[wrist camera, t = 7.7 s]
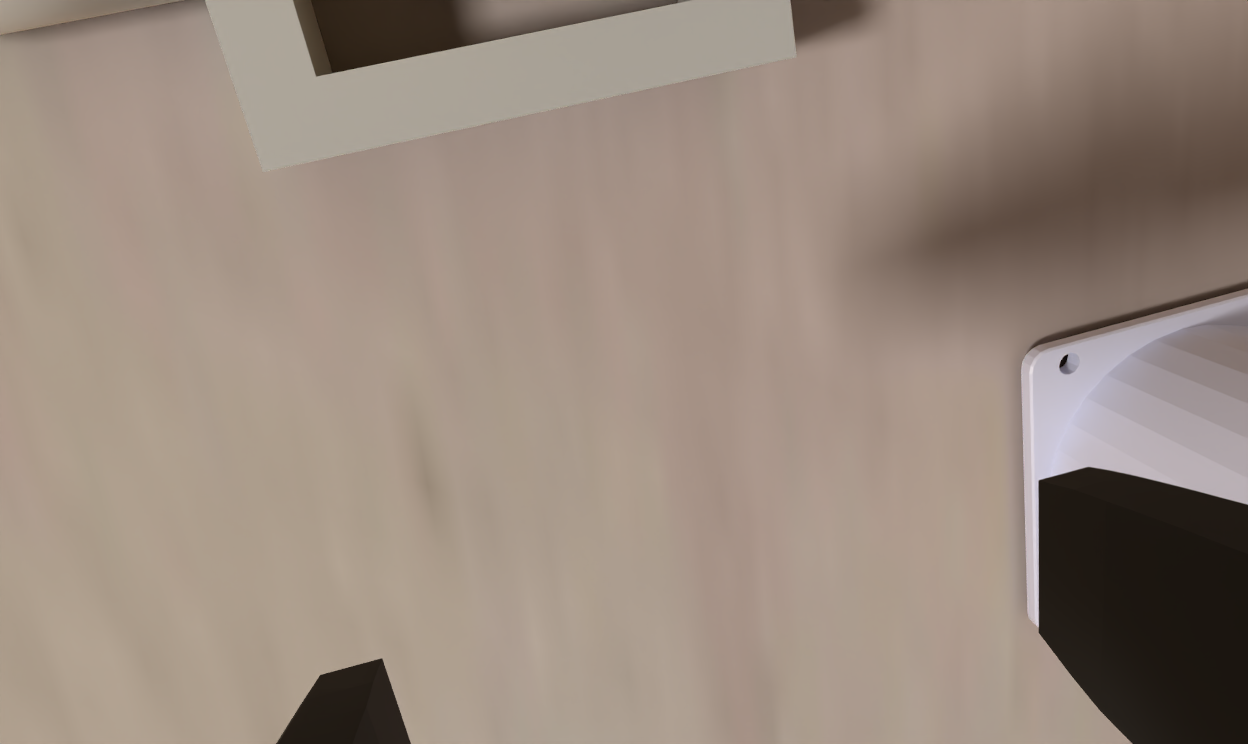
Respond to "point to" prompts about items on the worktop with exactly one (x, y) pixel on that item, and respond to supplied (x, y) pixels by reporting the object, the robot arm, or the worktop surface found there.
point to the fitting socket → (447, 68)
